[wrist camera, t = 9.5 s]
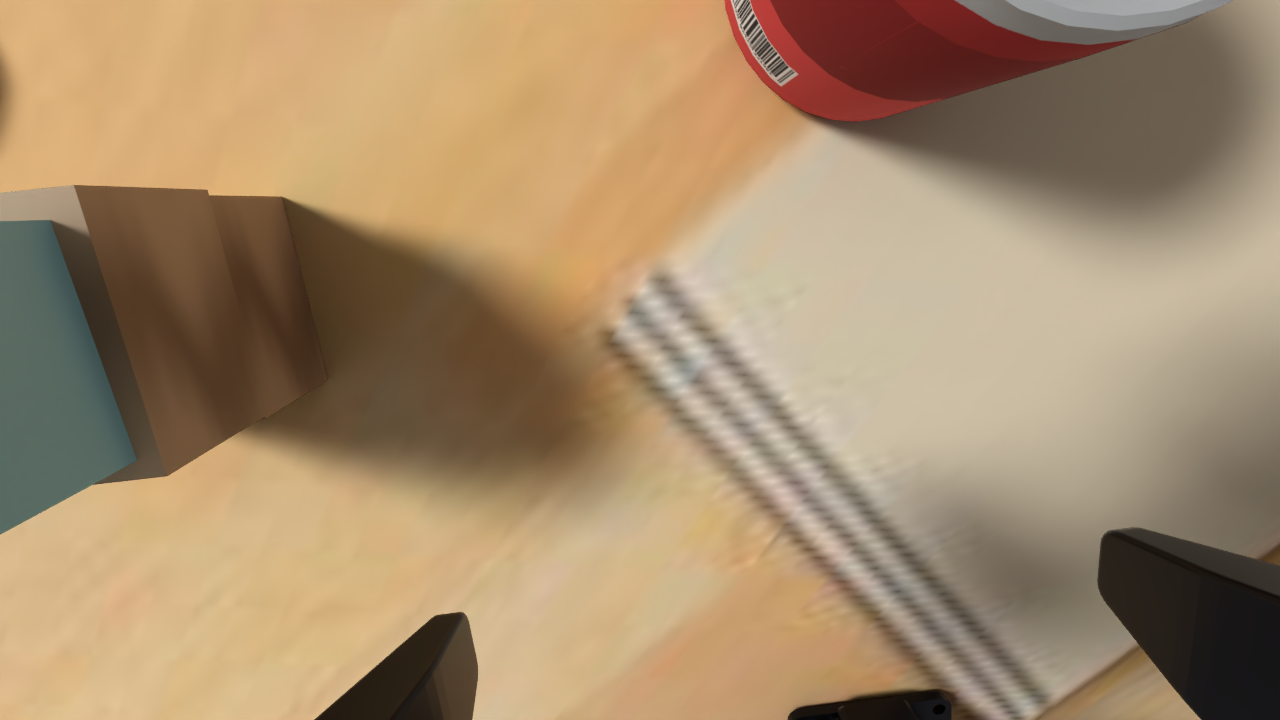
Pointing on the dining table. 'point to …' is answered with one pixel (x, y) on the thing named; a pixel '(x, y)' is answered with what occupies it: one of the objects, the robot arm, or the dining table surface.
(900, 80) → the canned food
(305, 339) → the tower base
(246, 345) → the tower top
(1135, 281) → the dining table surface
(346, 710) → the robot arm
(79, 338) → the teal block
